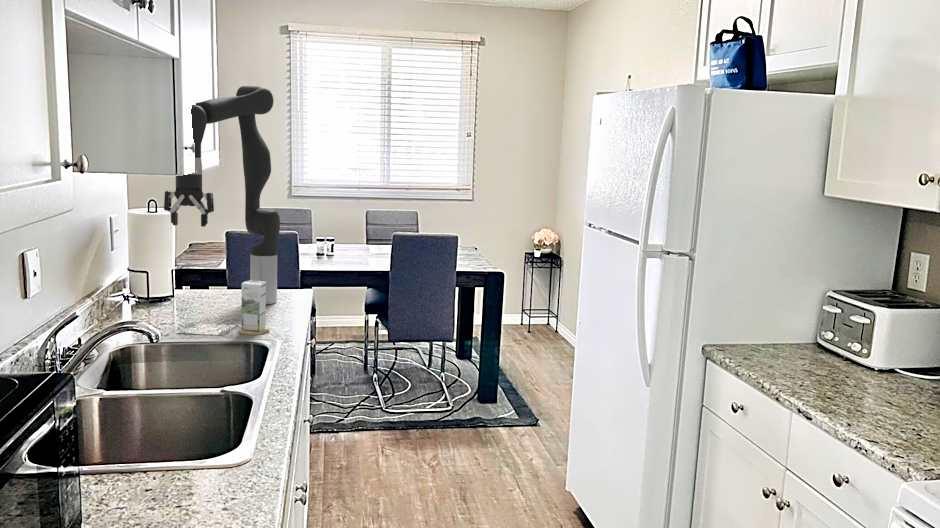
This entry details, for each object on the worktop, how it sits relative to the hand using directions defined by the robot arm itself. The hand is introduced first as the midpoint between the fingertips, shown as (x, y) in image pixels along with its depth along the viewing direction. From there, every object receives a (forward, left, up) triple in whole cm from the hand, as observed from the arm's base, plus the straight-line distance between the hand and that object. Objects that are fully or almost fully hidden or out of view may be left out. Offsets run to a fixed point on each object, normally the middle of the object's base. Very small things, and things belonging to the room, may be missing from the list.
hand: (189, 225), depth 224 cm
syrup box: (+8, +22, -30) cm, 38 cm away
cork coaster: (+8, +22, -30) cm, 38 cm away
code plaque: (+8, +8, -30) cm, 32 cm away
